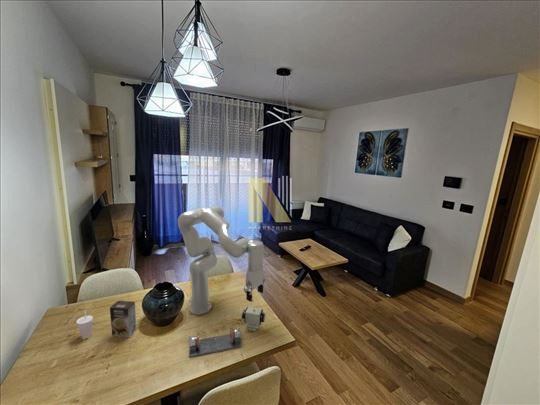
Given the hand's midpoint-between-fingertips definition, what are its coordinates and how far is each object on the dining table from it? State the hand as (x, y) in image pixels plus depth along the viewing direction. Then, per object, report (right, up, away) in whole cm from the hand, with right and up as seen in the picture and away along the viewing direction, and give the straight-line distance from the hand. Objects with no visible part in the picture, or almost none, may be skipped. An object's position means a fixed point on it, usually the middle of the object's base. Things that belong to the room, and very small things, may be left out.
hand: (254, 296), depth 125 cm
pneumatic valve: (-1, -19, +4) cm, 19 cm away
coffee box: (-66, -18, -3) cm, 68 cm away
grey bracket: (-19, -20, -9) cm, 29 cm away
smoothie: (-83, -18, -7) cm, 85 cm away
